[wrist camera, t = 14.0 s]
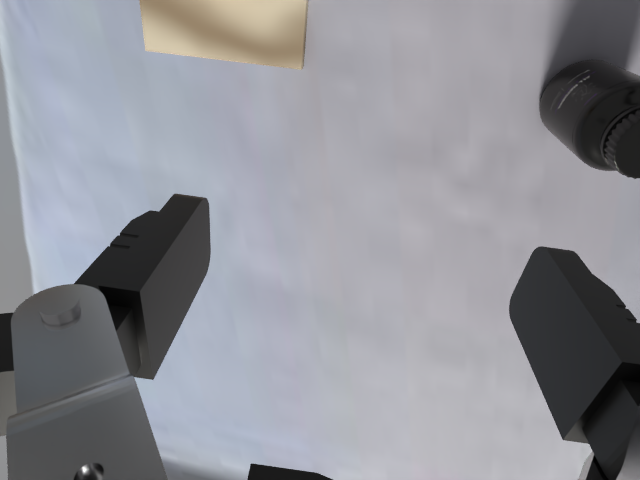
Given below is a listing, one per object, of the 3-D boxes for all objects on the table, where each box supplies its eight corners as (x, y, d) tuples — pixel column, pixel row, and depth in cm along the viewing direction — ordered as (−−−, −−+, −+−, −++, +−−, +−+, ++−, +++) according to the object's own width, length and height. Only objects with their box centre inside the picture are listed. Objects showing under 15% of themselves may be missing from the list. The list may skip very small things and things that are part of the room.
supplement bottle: (545, 60, 37) (616, 95, 27) (629, 56, 36) (734, 89, 26) (529, 137, 40) (586, 193, 30) (605, 134, 40) (689, 190, 30)
